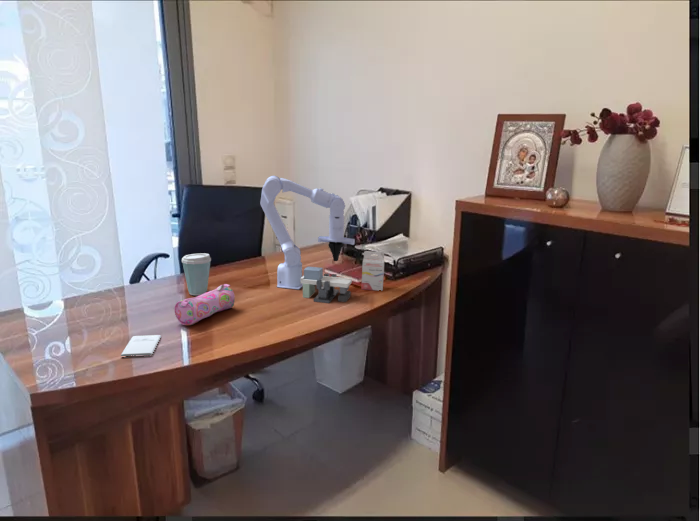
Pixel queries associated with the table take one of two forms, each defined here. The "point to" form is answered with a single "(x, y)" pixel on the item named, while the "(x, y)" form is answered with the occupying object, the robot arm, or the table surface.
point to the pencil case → (204, 305)
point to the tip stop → (344, 296)
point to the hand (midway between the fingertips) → (335, 260)
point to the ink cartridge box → (373, 271)
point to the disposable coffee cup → (197, 272)
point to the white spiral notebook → (141, 345)
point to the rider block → (313, 273)
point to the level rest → (308, 290)
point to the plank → (331, 282)
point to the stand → (326, 291)
